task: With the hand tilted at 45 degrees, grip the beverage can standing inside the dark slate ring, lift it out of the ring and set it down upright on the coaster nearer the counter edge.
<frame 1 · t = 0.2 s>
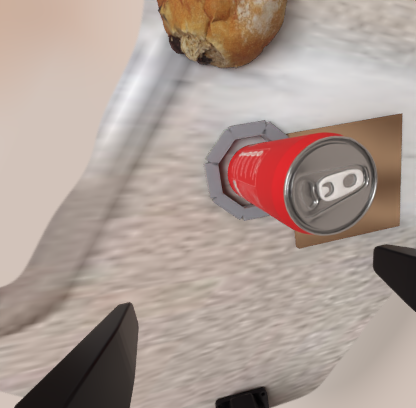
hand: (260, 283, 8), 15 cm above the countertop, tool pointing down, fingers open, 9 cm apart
ring: (250, 171, 22), on the countertop
coaster: (344, 182, 23), on the countertop
bread roll: (217, 13, 19), on the countertop
beverage can: (250, 171, 22), resting in ring
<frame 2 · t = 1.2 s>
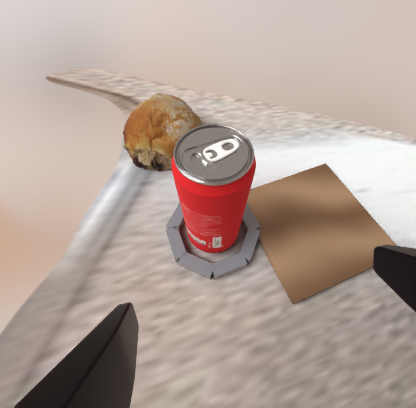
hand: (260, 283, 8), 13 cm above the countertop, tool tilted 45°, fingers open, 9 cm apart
ring: (212, 232, 23), on the countertop
coaster: (310, 224, 24), on the countertop
bread roll: (166, 147, 30), on the countertop
beverage can: (212, 232, 23), resting in ring
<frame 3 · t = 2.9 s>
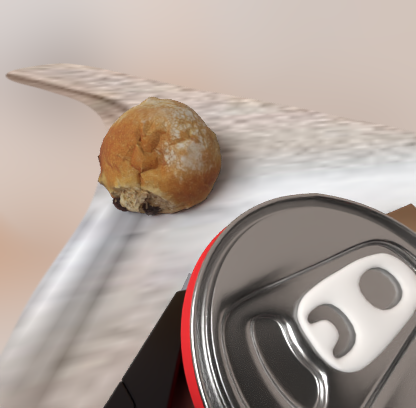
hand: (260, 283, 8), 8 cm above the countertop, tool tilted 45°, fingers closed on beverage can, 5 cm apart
coaster: (407, 314, 14), on the countertop
bread roll: (165, 175, 20), on the countertop
beverage can: (243, 330, 14), resting in ring, touching gripper
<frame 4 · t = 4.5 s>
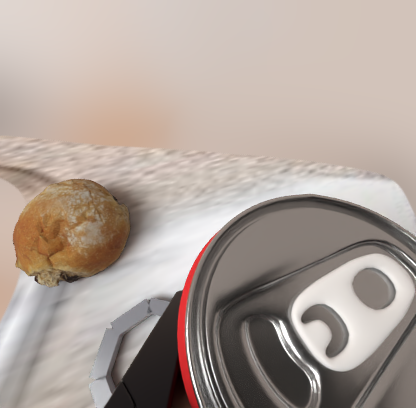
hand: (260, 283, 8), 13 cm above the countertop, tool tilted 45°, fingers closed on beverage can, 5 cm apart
ring: (156, 363, 18), on the countertop
bread roll: (85, 238, 23), on the countertop
beverage can: (244, 329, 14), point 5 cm above the countertop, touching gripper
when the fingers open (9 cm above the countertop, at t = 5.9 s): beverage can stays where it is, resting on coaster.
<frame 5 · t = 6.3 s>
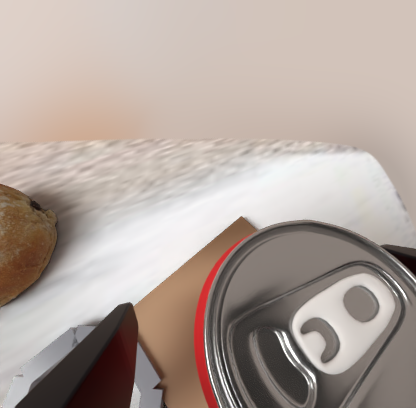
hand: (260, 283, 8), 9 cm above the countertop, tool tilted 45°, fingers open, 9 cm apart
coaster: (241, 330, 15), on the countertop
bread roll: (0, 258, 18), on the countertop
beverage can: (245, 332, 15), resting on coaster
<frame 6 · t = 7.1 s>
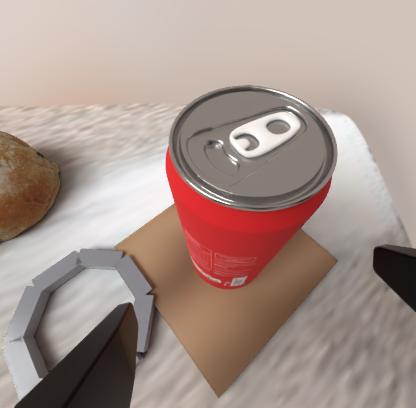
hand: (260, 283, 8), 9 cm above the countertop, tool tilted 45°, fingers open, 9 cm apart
ring: (88, 317, 15), on the countertop
coaster: (223, 255, 17), on the countertop
bread roll: (9, 202, 20), on the countertop
beverage can: (226, 256, 17), resting on coaster
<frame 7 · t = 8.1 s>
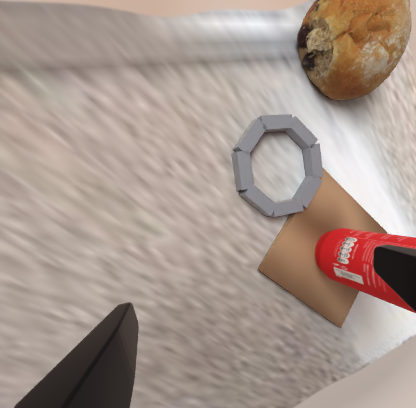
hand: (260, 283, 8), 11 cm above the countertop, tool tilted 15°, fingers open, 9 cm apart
ring: (276, 166, 21), on the countertop
coaster: (326, 248, 23), on the countertop
bread roll: (329, 57, 23), on the countertop
beverage can: (329, 251, 23), resting on coaster
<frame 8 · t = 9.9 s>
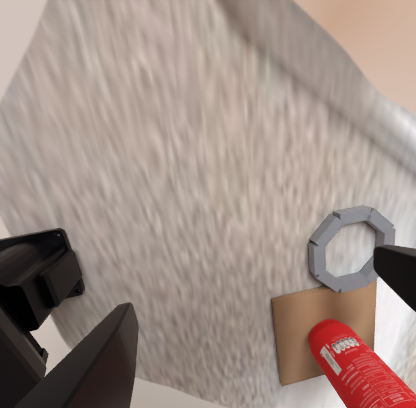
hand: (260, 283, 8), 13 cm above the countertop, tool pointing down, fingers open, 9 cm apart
ring: (347, 248, 24), on the countertop
coaster: (324, 329, 26), on the countertop
beverage can: (324, 333, 26), resting on coaster
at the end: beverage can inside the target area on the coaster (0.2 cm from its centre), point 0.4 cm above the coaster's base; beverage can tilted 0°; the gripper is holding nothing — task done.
